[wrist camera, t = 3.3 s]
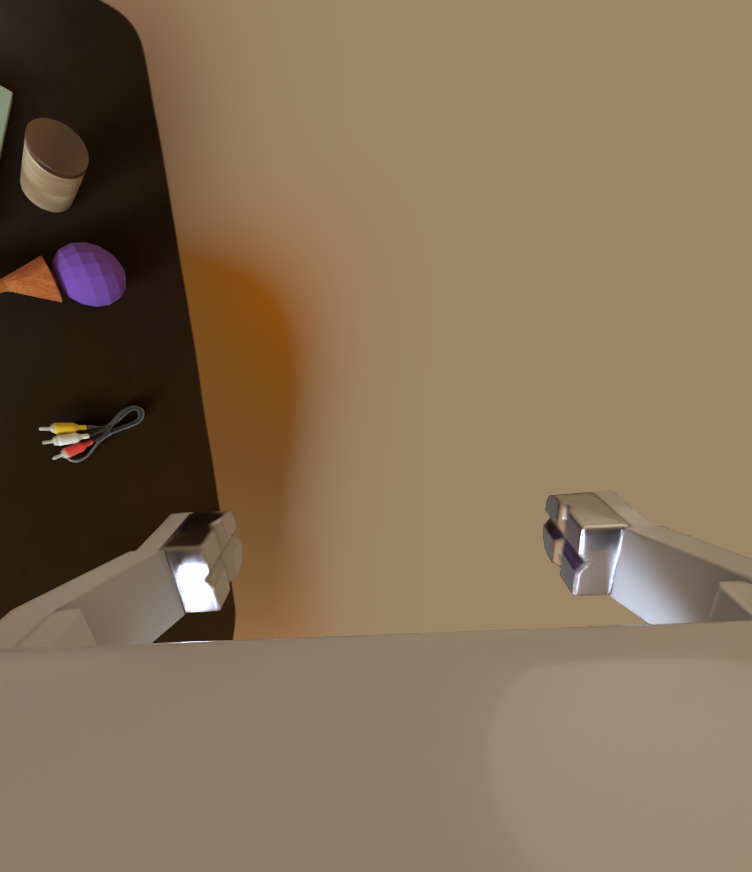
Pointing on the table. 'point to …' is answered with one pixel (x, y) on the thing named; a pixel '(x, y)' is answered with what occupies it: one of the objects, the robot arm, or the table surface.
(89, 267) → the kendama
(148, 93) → the table surface
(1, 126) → the sage pad
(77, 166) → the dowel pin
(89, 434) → the composite cable
